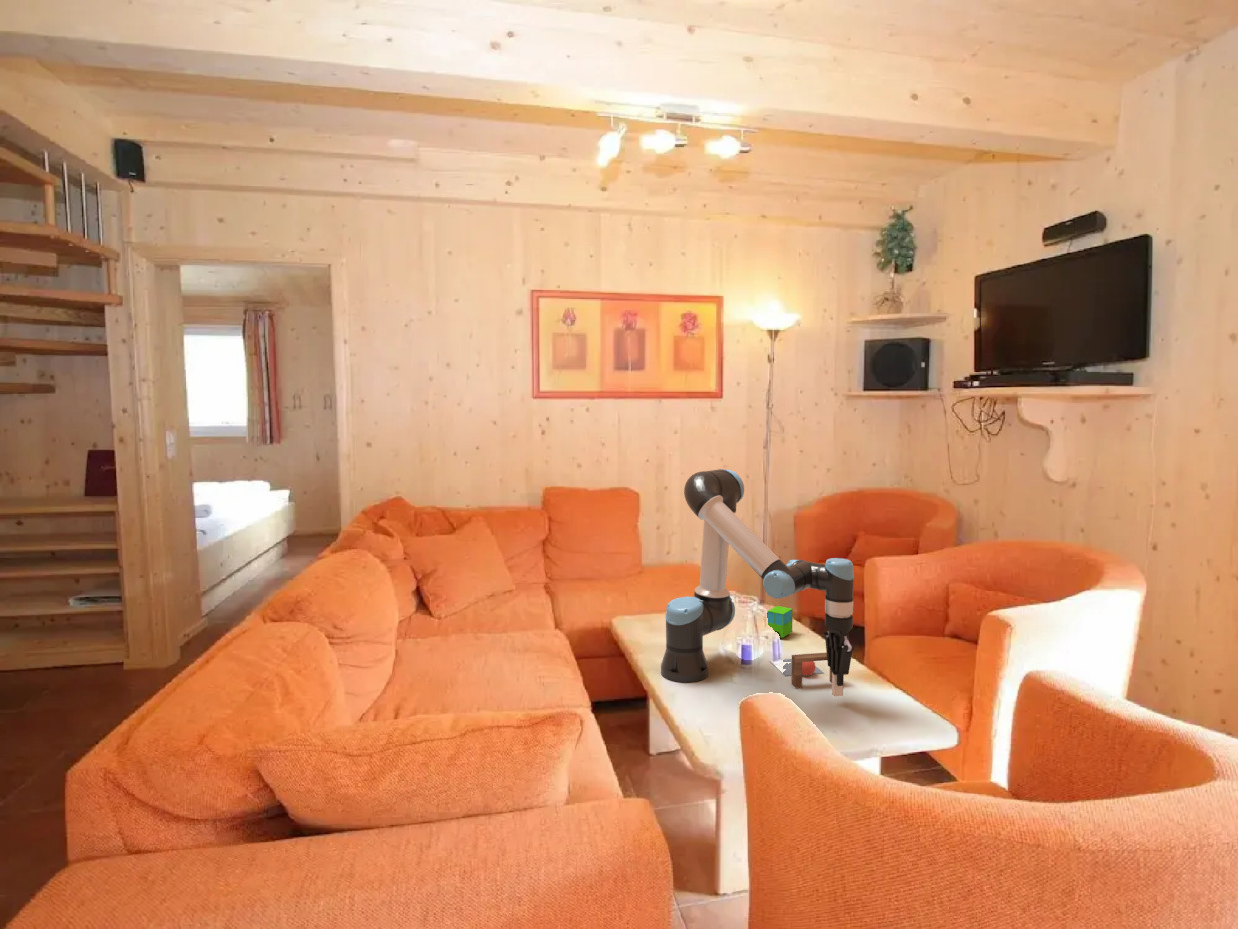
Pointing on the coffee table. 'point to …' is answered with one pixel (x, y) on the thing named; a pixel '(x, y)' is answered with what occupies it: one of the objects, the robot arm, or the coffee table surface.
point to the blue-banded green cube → (780, 620)
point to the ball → (808, 668)
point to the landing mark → (789, 668)
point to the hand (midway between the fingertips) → (837, 695)
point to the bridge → (797, 666)
